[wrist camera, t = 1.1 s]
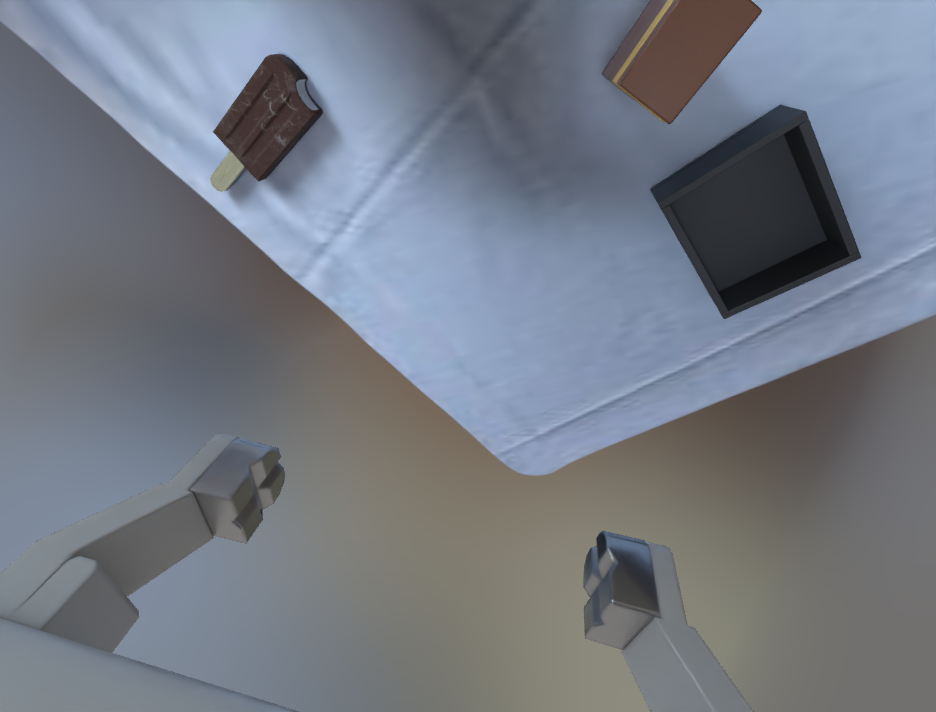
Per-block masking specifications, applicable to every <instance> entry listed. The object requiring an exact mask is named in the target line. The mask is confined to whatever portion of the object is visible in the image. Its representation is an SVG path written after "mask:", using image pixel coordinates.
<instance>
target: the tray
mask: <svg viewBox="0 0 936 712" xmlns="http://www.w3.org/2000/svg"><path fill="white" fill-rule="evenodd" d="M650 190H651V192H652V194H653V196H654V197H655V199H656V201H657V203H658V204H659V206H660V208H661V210H662V211H663V213H664V215H665V217H666V218H667V220H668V222H669V224H670V226H671V227H672V229H673V231H674V233H675V234H676V236H677V238H678V240H679V241H680V243H681V245H682V247H683V248H684V250H685V252H686V254H687V255H688V257H689V259H690V261H691V262H692V264H693V266H694V268H695V270H696V271H697V273H698V275H699V277H700V278H701V280H702V282H703V284H704V285H705V287H706V289H707V291H708V292H709V294H710V296H711V298H712V299H713V301H714V303H715V305H716V306H717V308H718V310H719V312H720V313H721V315H722V317H723V318H724V319H726V318H728V317H730V316H732V315H735V314H737V313H739V312H741V311H743V310H746V309H748V308H750V307H752V306H755V305H757V304H759V303H761V302H764V301H766V300H768V299H770V298H773V297H775V296H777V295H779V294H782V293H784V292H786V291H788V290H791V289H793V288H795V287H797V286H799V285H802V284H804V283H806V282H808V281H811V280H813V279H815V278H817V277H820V276H822V275H824V274H826V273H829V272H831V271H833V270H835V269H838V268H840V267H842V266H844V265H847V264H849V263H851V262H853V261H855V260H858V259H860V258H861V255H860V253H859V250H858V247H857V245H856V242H855V239H854V237H853V234H852V231H851V229H850V226H849V224H848V221H847V218H846V216H845V213H844V210H843V208H842V205H841V203H840V200H839V197H838V195H837V192H836V189H835V187H834V184H833V181H832V179H831V176H830V174H829V171H828V168H827V166H826V163H825V160H824V158H823V155H822V152H821V150H820V147H819V145H818V142H817V139H816V137H815V134H814V131H813V129H812V126H811V123H810V121H809V119H808V116H807V113H806V111H803V110H799V109H794V108H790V107H786V106H783V105H779V106H778V107H776V108H775V109H773V110H772V111H770V112H769V113H767V114H766V115H764V116H763V117H761V118H759V119H758V120H756V121H755V122H753V123H752V124H750V125H749V126H747V127H746V128H744V129H742V130H741V131H739V132H738V133H736V134H735V135H733V136H732V137H730V138H729V139H727V140H726V141H724V142H722V143H721V144H719V145H718V146H716V147H715V148H713V149H712V150H710V151H709V152H707V153H705V154H704V155H702V156H701V157H699V158H698V159H696V160H695V161H693V162H692V163H690V164H688V165H687V166H685V167H684V168H682V169H681V170H679V171H678V172H676V173H675V174H673V175H672V176H670V177H668V178H667V179H665V180H664V181H662V182H661V183H659V184H658V185H656V186H655V187H653V188H651V189H650Z"/></svg>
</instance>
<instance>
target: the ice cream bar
mask: <svg viewBox="0 0 936 712" xmlns="http://www.w3.org/2000/svg"><path fill="white" fill-rule="evenodd" d="M306 80H307V78H306V76H305V75H304V74H303V73H302V71H301V70H300V69H299V68H298V66H297V65H296V64H295V63H294V62H293V61H292V60H291V59H290V58H288V57H286V56H285V55H283V54H274V55H269V56H267V57H265V59H264V60H263V62H262V63H261V65H260V66H259V67H258V69H257V70H256V72H255V73H254V74H253V76H252V77H251V79H250V80H249V82H248V83H247V84H246V86H245V87H244V89H243V90H242V92H241V93H240V94H239V96H238V97H237V99H236V100H235V101H234V103H233V104H232V106H231V107H230V109H229V110H228V111H227V113H226V114H225V116H224V117H223V119H222V120H221V121H220V123H219V124H218V126H217V127H216V129H215V130H214V131H213V132H214V133H215V134H216V136H217V137H218V138H219V139H220V140H221V141H222V142H223V143H224V144H225V145H226V147H227V148H228V149H229V150H230V152H229V153H228V154H227V156H226V157H225V158H224V160H223V161H222V162H221V163H220V165H219V166H218V167H217V169H216V170H215V171H214V173H213V174H212V175H211V183H212V185H213V186H214V188H215V189H217V190H218V191H221V192H223V191H226V190H228V189H229V188H230V187H231V185H232V184H233V183H234V182H235V180H236V179H237V178H238V177H239V176H240V174H241V173H242V172H243V171H244V169H245V168H246V169H247V170H248V171H249V173H251V174H252V175H253V176H254V177H255V178H256V179H257V180H258V181H261V180H264V179H266V178H267V177H268V175H269V174H270V173H271V172H272V171H273V170H274V169H275V167H276V166H277V165H278V164H279V163H280V162H281V160H282V159H283V158H284V157H285V156H286V155H287V154H288V152H289V151H290V150H291V149H292V148H293V147H294V145H295V144H296V143H297V142H298V141H299V140H300V139H301V137H302V136H303V135H304V134H305V133H306V132H307V130H308V129H309V128H310V127H311V126H312V125H313V124H314V122H315V121H316V120H317V119H318V118H319V117H320V115H321V114H322V110H321V109H320V108H319V107H318V106H317V105H316V104H315V102H314V101H313V100H312V99H311V97H310V96H309V94H308V92H307V89H306V85H305V83H306Z"/></svg>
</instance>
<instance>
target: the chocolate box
mask: <svg viewBox="0 0 936 712" xmlns="http://www.w3.org/2000/svg"><path fill="white" fill-rule="evenodd" d="M761 12H762V10H761V9H760V8H759V7H758V6H757V5H756V4H755V3H754V2H752V1H751V0H650V2H649V4H648V5H647V7H646V8H645V10H644V11H643V13H642V14H641V16H640V17H639V19H638V20H637V22H636V23H635V25H634V26H633V28H632V29H631V31H630V32H629V34H628V35H627V37H626V38H625V40H624V41H623V43H622V44H621V46H620V47H619V49H618V50H617V52H616V53H615V55H614V56H613V58H612V59H611V61H610V62H609V64H608V65H607V67H606V68H605V70H604V71H603V73H602V75H604V76H605V77H606V78H607V79H609V80H610V81H611V82H612V83H614V84H615V85H616V86H617V87H619V88H620V89H621V90H623V91H624V92H625V93H626V94H628V95H629V96H630V97H631V98H633V99H634V100H635V101H637V102H638V103H639V104H641V105H642V106H643V107H645V108H646V109H647V110H648V111H650V112H651V113H652V114H653V115H655V116H656V117H657V118H659V119H660V120H661V121H663V122H666V123H668V124H671V123H672V122H673V121H674V119H675V118H676V117H677V116H678V114H679V113H680V112H681V111H682V109H683V108H684V107H685V106H686V105H687V103H688V102H689V101H690V100H691V98H692V97H693V96H694V95H695V94H696V92H697V91H698V90H699V89H700V87H701V86H702V85H703V84H704V83H705V81H706V80H707V79H708V78H709V76H710V75H711V74H712V73H713V71H714V70H715V69H716V68H717V67H718V65H719V64H720V63H721V62H722V60H723V59H724V58H725V57H726V56H727V54H728V53H729V52H730V51H731V49H732V48H733V47H734V46H735V44H736V43H737V42H738V41H739V40H740V38H741V37H742V36H743V35H744V33H745V32H746V31H747V30H748V29H749V27H750V26H751V25H752V24H753V22H754V21H755V20H756V19H757V17H758V16H759V15H760V14H761Z"/></svg>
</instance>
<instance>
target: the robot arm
mask: <svg viewBox="0 0 936 712" xmlns="http://www.w3.org/2000/svg"><path fill="white" fill-rule="evenodd" d="M280 458H281V455H280V452H279V449H278V448H276V447H272V446H268V445H264V444H260V443H257V442H252V441H249V440H245V439H241V438H239V437H235V436H231V435H227V434H223V433H219V434H217V435H215V436H213V437H212V438H211V439H210V440H209V441H208V442H207V443H206V444H205V445H204V446H203V447H202V448H201V449H200V450H199V452H197V454H196V455H195V456H194V457H193V458H192V459H191V460H190V461H189V462H188V463H187V464H186V465H185V466H184V467H183V468H182V469H181V470H180V471H179V472H178V473H177V474H176V476H175V477H174V478H173V479H172V480H171V481H170V482H169V483H168V484H167V485H166V484H159V485H157V486H154V487H152V488H150V489H148V490H146V491H144V492H141V493H139V494H137V495H135V496H133V497H130V498H128V499H126V500H124V501H122V502H120V503H117V504H115V505H114V506H111V507H109V508H107V509H105V510H102V511H100V512H98V513H96V514H94V515H92V516H89V517H87V518H85V519H83V520H81V521H78V522H76V523H74V524H72V525H70V526H68V527H66V528H63V529H61V530H59V531H57V532H55V533H53V534H50V535H48V536H46V537H44V538H42V539H40V540H37V541H36V542H35V543H34V544H33V545H32V546H30V547H29V548H28V549H27V550H26V551H25V552H24V553H23V554H21V555H20V556H19V557H18V558H17V559H16V560H15V561H14V562H13V563H11V564H10V565H9V566H8V567H7V568H6V569H5V570H4V571H3V572H1V573H0V712H299V711H296V710H292V709H289V708H286V707H283V706H280V705H277V704H273V703H270V702H267V701H264V700H260V699H257V698H253V697H251V696H248V695H245V694H241V693H238V692H235V691H232V690H229V689H226V688H222V687H219V686H216V685H213V684H209V683H206V682H203V681H200V680H197V679H193V678H190V677H187V676H184V675H181V674H178V673H175V672H171V671H168V670H165V669H162V668H159V667H155V666H152V665H149V664H146V663H143V662H140V661H136V660H133V659H130V658H127V657H124V656H120V655H117V654H114V653H112V652H113V651H114V650H115V648H116V647H117V645H118V644H119V643H120V642H121V640H122V639H123V638H124V636H125V635H126V634H127V632H128V631H129V630H130V628H131V627H132V626H133V624H134V623H135V622H136V620H137V619H138V618H139V611H138V610H137V608H136V607H135V606H134V605H133V603H131V601H130V600H129V599H128V598H127V596H129V595H130V594H132V593H133V592H135V591H136V590H137V589H139V588H141V587H142V586H143V585H145V584H146V583H148V582H149V581H151V580H152V579H154V578H155V577H157V576H158V575H160V574H161V573H163V572H164V571H166V570H167V569H168V568H170V567H171V566H173V565H174V564H176V563H177V562H179V561H180V560H182V559H183V558H185V557H186V556H188V555H189V554H191V553H192V552H193V551H195V550H197V549H198V548H199V547H201V546H202V545H204V544H205V543H207V542H208V541H210V540H211V539H213V536H217V537H221V538H225V539H229V540H233V541H237V542H241V543H245V544H246V543H247V541H248V540H249V539H250V537H251V536H252V534H253V533H254V531H255V530H256V528H257V527H258V526H259V524H260V523H261V521H262V520H263V516H262V510H263V509H265V508H267V507H269V506H270V505H272V504H273V503H274V502H275V500H276V499H277V497H278V496H279V494H280V492H281V489H282V487H283V484H284V478H285V472H284V468H283V467H282V466H281V465H280V464H279V463H278V460H279V459H280ZM584 589H585V590H586V592H587V594H588V595H589V597H590V599H589V600H588V602H587V604H586V605H585V606H584V623H585V639H589V640H592V641H595V642H599V643H602V644H605V645H608V646H611V647H615V648H618V649H621V650H623V651H622V654H623V655H624V658H625V660H626V662H627V664H628V666H629V668H630V670H631V672H632V674H633V676H634V678H635V680H636V683H637V685H638V687H639V689H640V691H641V693H642V695H643V697H644V699H645V701H646V703H647V705H648V707H649V710H650V712H754V711H753V710H752V708H751V707H750V706H749V704H748V703H747V702H746V700H745V699H744V697H743V696H742V694H741V693H740V691H739V690H738V689H737V687H736V686H735V684H734V683H733V682H732V680H731V679H730V678H729V676H728V674H727V673H726V672H725V670H724V669H723V667H722V666H721V665H720V663H719V662H718V660H717V659H716V657H715V656H714V655H713V653H712V652H711V650H710V649H709V648H708V646H707V645H706V643H705V642H704V640H703V639H702V638H701V636H700V635H699V634H698V632H697V631H696V629H695V628H693V627H690V626H688V625H687V621H686V616H685V611H684V606H683V601H682V597H681V592H680V587H679V582H678V578H677V573H676V568H675V563H674V559H673V554H672V552H671V550H670V549H669V548H668V547H666V546H662V545H658V544H654V543H650V542H646V541H644V540H640V539H636V538H632V537H628V536H623V535H619V534H615V533H610V532H606V531H602V532H600V533H599V535H598V536H597V546H595V547H592V548H590V550H589V552H588V554H587V557H586V561H585V566H584Z"/></svg>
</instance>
